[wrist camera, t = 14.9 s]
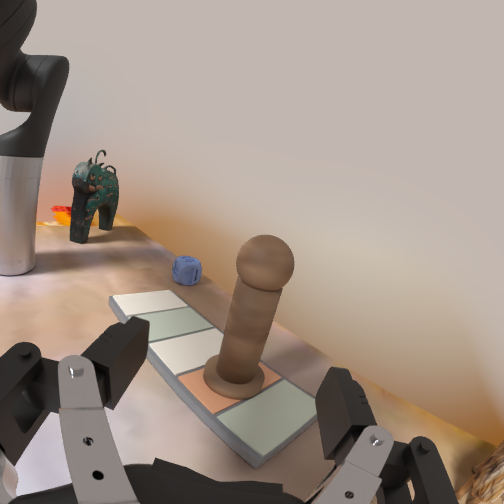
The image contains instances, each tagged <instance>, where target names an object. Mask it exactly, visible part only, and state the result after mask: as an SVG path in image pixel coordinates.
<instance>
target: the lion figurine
mask: <svg viewBox="0 0 504 504" xmlns="http://www.w3.org/2000/svg"><path fill="white" fill-rule="evenodd" d="M472 470H473V471H474V472H475V474H474V475H472V476H471V477H470V478H469V479H468V481H467V482H466V483H465V484H464V485H463V486H462V487H461V488H460V489H459V490H458V491H457V492H455V495H456V498H457V500H458V501H459V500H460V499H461V498H462V496H463V495H464V494H465V493H466V492H467V491H468V490H469V489H471V488H472V487H473V489H472V492H471V494H472V495H473V496H474V497H475V498H473V499H472V500H470V501H469V502H468V503H467V504H478V503H480V502H481V501H482V502H489V503H493V502H495V501H496V500H497V499H498V498H500V497H502V503H503V504H504V440H503V441H502V443H500V445H499V446H498V447H497V448H496V449H495V450H494V452H493V453H492V454H491V455H490V456H489V457H488V458H487V459H486V460H485V461H483V462H482V463H480V464H478V465H475V466H474V467H473V468H472Z"/></svg>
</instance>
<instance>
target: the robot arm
mask: <svg viewBox="0 0 504 504" xmlns="http://www.w3.org/2000/svg"><path fill="white" fill-rule="evenodd" d="M36 11H37V2H36V0H0V103H1V104H2V106H3V107H4V108H6V109H7V110H10V111H15V112H31V114H30V116H29V118H28V119H27V120H26V121H25V122H24V123H23V124H22V125H20V126H19V127H18V128H16V129H14V130H12V131H9V132H7V133H5V134H2V135H0V274H1V275H18V274H23V273H26V272H28V271H30V270H31V269H33V268H34V266H35V235H36V214H37V203H38V193H39V185H40V178H41V169H42V164H43V159H44V158H43V157H44V153H45V148H46V145H47V141H48V138H49V134H50V130H51V126H52V122H53V119H54V116H55V113H56V110H57V107H58V104H59V101H60V98H61V96H62V93H63V90H64V88H65V85H66V81H67V78H68V73H69V61H68V59H67V58H66V57H64V56H54V55H27V54H24V53H23V52H22V51H21V50H20V48H21V46H22V45H23V43H24V41H25V40H26V38H27V36H28V35H29V32H30V30H31V28H32V26H33V24H34V21H35V17H36ZM149 329H150V322H149V321H148V320H145V319H142V318H139V317H136V316H132V317H131V318H130V319H129V320H128V321H127V322H126V323H125V324H123V323H121V322H119V323H116V324H114V325H111V326H109V327H108V328H107V329H106V330H105V331H104V333H102V334H101V335H100V336H99V338H97V339H96V340H95V341H94V342H93V343H92V344H91V345H90V346H89V347H88V348H87V349H86V350H85V351H84V352H83V353H82V354H81V355H80V356H78V355H71V356H67V357H65V358H63V359H62V360H61V361H60V362H59V361H54V360H50V359H47V358H43V357H42V356H41V352H40V349H39V348H38V347H37V346H36V345H35V344H32V343H29V342H21V343H17V344H15V345H14V346H12V347H11V348H10V349H9V350H8V351H7V352H6V353H5V354H3V355H2V356H1V357H0V504H370V502H371V500H372V499H373V497H374V495H375V493H376V496H377V502H378V504H459V503H458V500H457V498H456V495H455V492H454V489H453V487H452V484H451V482H450V479H449V476H448V474H447V471H446V469H445V467H444V464H443V462H442V459H441V457H440V455H439V452H438V450H437V448H436V446H435V444H434V443H433V442H432V441H431V440H430V439H428V438H426V437H422V436H418V437H415V438H413V439H412V441H411V442H410V443H409V444H406V443H402V442H397V441H394V440H393V437H392V435H391V434H390V432H388V431H387V430H386V429H384V428H382V427H380V426H377V423H376V421H375V418H374V416H373V413H372V410H371V408H370V405H368V400H367V398H366V395H365V393H364V390H363V388H362V387H361V386H360V385H359V384H358V383H357V381H354V380H352V377H351V375H350V372H349V370H348V369H345V368H338V367H331V368H330V369H329V370H328V372H327V374H326V376H325V378H324V380H323V382H322V384H321V386H320V388H319V390H318V392H317V394H316V398H315V405H316V411H317V417H318V422H319V428H320V434H321V440H322V446H323V452H324V458H325V460H335V465H334V466H333V467H332V468H331V469H330V471H329V472H328V473H327V475H326V476H325V477H324V478H323V480H322V481H321V482H320V483H319V485H318V486H317V487H316V488H315V489H314V491H313V492H312V493H311V494H310V495H309V496H308V497H307V498H306V499H305V500H304V501H302V500H300V499H299V498H297V497H295V496H293V495H290V494H288V493H285V492H283V488H282V484H276V483H266V482H258V481H237V482H219V481H215V480H213V479H210V478H208V477H206V476H204V475H202V474H199V473H197V472H195V471H193V470H191V469H189V468H187V467H184V466H180V465H177V464H173V463H170V462H167V461H164V460H161V459H158V458H155V460H154V463H153V465H151V464H129V465H122V462H121V460H120V457H119V454H118V451H117V448H116V445H115V442H114V439H113V436H112V433H111V430H110V427H109V423H108V420H107V416H106V413H105V409H104V407H107V408H109V409H112V410H114V408H115V406H116V405H117V403H118V402H119V400H120V398H121V397H122V395H123V394H124V392H125V391H126V389H127V387H128V386H129V384H130V383H131V381H132V380H133V378H134V377H135V375H136V373H137V372H138V370H139V369H140V367H141V366H142V364H143V363H144V361H145V359H146V356H147V352H148V342H149ZM50 412H54V413H58V414H59V417H60V425H61V432H62V438H63V444H64V449H65V454H66V459H67V463H68V468H69V472H70V476H71V479H72V483H70V484H67V485H63V486H60V487H56V488H52V489H48V490H44V491H40V492H35V493H31V494H26V495H21V496H18V497H17V495H16V488H17V483H18V474H17V471H16V469H15V467H14V466H15V465H16V463H17V461H18V460H19V458H20V457H21V455H22V454H23V452H24V450H25V449H26V447H27V446H28V444H29V443H30V441H31V440H32V438H33V437H34V435H35V434H36V432H37V431H38V429H39V428H40V426H41V425H42V423H43V422H44V421H45V419H46V418H47V416H48V415H49V413H50ZM410 480H411V481H412V484H413V488H414V491H415V497H414V500H413V501H412V499H411V495H410V491H409V488H408V484H407V483H408V482H409V481H410Z"/></svg>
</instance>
